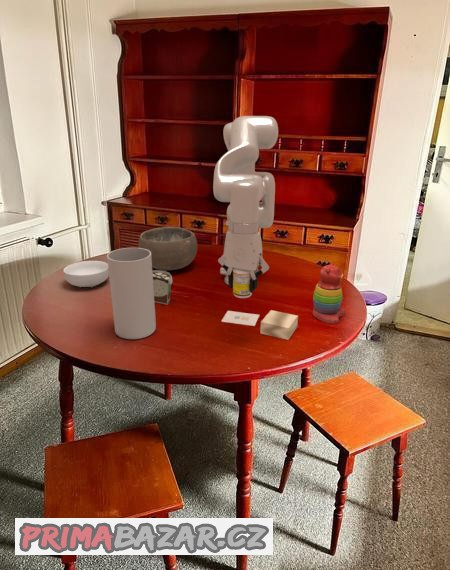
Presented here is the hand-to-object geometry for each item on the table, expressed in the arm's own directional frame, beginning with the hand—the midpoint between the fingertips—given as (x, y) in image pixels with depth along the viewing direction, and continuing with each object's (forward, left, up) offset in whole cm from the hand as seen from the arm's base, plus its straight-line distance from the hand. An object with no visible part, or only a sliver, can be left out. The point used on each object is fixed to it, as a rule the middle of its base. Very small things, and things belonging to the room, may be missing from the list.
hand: (242, 288), depth 122 cm
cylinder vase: (-32, -9, -17) cm, 37 cm away
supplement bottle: (0, 0, -2) cm, 2 cm away
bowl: (-53, +43, -17) cm, 70 cm away
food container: (-38, +14, -17) cm, 44 cm away
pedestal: (+8, +11, -17) cm, 22 cm away
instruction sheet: (-6, +13, -17) cm, 22 cm away
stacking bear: (+19, +28, -17) cm, 38 cm away
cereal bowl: (-71, +13, -17) cm, 74 cm away
